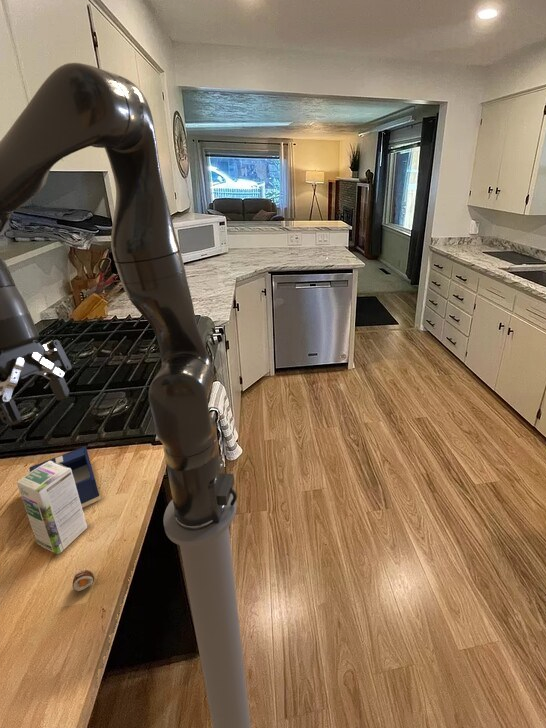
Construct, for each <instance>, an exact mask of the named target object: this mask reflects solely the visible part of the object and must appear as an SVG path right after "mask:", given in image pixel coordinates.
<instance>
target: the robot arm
mask: <svg viewBox="0 0 546 728" xmlns="http://www.w3.org/2000/svg"><path fill="white" fill-rule="evenodd" d="M152 114H153V113H152V111H151V108H150V105H149V102H148V100H147V98H146V97H145V95H144V93H143V92H142V90H141V89H140V88H139V87H138V86H137V85H136V84H135V83H134V82H132V81H131V80H129V78H126V77H124V76H122V75H119V74H116V73H113V72H110V71H108V70H105V69H102V68H99V67H96V66H94V65H90V64H87V63H81V62H68V63H65V64H62V65H60V66H59V67H57V68H56V69H55V70H53V71H52V72H51V73H50V74H49V75H48V77H46V79H44V81H43V82H42V84H41V85H40V87H39V88H38V89H37V91H36V92H35V94H34V95H33V96H32V98H31V99H30V101H29V102H28V104H26V106H25V108H24V109H23V110H22V112H21V113H20V115H19V116H18V117H17V119H16V120H15V121H14V122H13V124H12V125H11V127H10V128H9V129H8V131H7V132H6V133H5V135H3V137H2V138H1V140H0V234H1V233H2V232H3V230H4V229H5V227H6V225H7V223H8V222H9V221H10V218H11V216H12V214H13V213H14V212H16V211H17V210H18V209H20V208H22V207H23V206H24V205H25V204H27V203H28V202H30V201H31V200H32V199H34V198H35V197H36V196H37V195H39V193H40V192H41V191H42V190H43V188H44V187H45V185H46V183H47V181H48V178H49V174H50V172H51V169H52V168H53V167H54V166H55V165H56V164H57V163H58V162H60V161H61V160H62V159H64V158H66V157H67V156H70V155H72V154H74V153H76V152H78V151H81V150H84V149H86V148H90V147H92V148H99V149H104V150H105V153H106V157H107V159H108V162H109V165H110V168H111V173H112V175H113V176H112V177H113V179H114V185H115V207H114V213H113V219H112V220H113V221H112V225H111V235H110V247H111V248H110V249H111V253H112V257H113V261H114V264H115V268H116V270H117V273H118V276H119V279H120V283H121V285H122V287H123V291H124V292H125V294H126V296H127V298H128V299H129V301H130V302H131V303H132V305H133V306H134V308H136V310H137V311H138V312H139V313H140V314H141V315H142V317H143V318H144V319H145V320H146V321H147V323H148V324H149V325H150V327H151V329H152V331H153V333H154V336H155V338H156V342H157V346H158V350H159V354H160V355H159V356H160V361H161V367H160V368H159V370H158V372H157V373H156V375H155V376H154V378H153V379H152V380H151V382H150V384H149V387H148V394H147V396H148V397H147V401H148V406H149V410H150V411H149V412H150V416H151V419H152V424H153V428H154V431H155V435H156V438H158V440H159V442H161V444H162V446H163V447H162V448H163V452H164V459H165V464H166V470H167V475H168V482H169V487H170V492H171V493H170V494H171V498H172V499H173V504H174V511H175V518H176V522H177V523H178V525H179V526H180V527H182V528H184V529H186V530H200V529H203V528H206V527H208V526H210V525H211V524H214V523H219V522H220V519H221V516H222V513H223V511H224V508H225V506H227V504H228V501H229V498H230V494H232V495H233V499H232V501H231V503H230V504H231V505H232V506H233V505H234V503H235V501H236V502H237V500H238V494H237V492H236V491H235V489H234V485H235V475H234V473H226V469H225V462H224V460H221V459H220V451H219V442H218V441H219V440H218V430H217V425H216V423H217V422H216V420H215V419H214V417H212V416H211V415H210V408H209V395H210V392H211V390H212V386H213V383H214V378H215V372H214V367H213V363H212V360H211V357H210V354H209V353H208V350H207V348H206V345H205V342H204V339H203V337H202V335H201V331H200V329H199V325H198V322H197V319H196V314H195V309H194V303H193V299H192V295H191V290H190V286H189V282H188V278H187V272H186V268H185V264H184V260H183V255H182V251H181V249H180V244H179V241H178V238H177V235H176V231H175V226H174V223H173V219H172V218H173V217H172V214H171V210H170V205H169V202H168V198H167V194H166V190H165V186H164V182H163V175H162V169H161V163H160V157H159V150H158V144H157V136H156V130H155V125H154V119H153V115H152ZM39 338H40V334H39V330H38V329H37V326H36V324H35V321H34V320H33V317H32V315H31V312H30V311H29V307H28V305H27V304H26V301H25V298H23V295H22V294H21V292H20V291H19V289H18V287H17V285H16V283H15V280H14V278H13V276H12V274H11V271H10V270H9V267H8V265H7V263H6V261H5V259H4V258H3V257H2V256H1V255H0V420H1V422H2V423H3V424H6V425H8V426H15V425H18V424H19V423H22V422H23V418H22V415H21V414H20V411H19V409H18V406H17V405H16V403H15V400H14V399H12V396H13V393H14V390H15V388H16V387H17V385H18V382H19V381H21V380H24V379H27V378H28V377H29V376H32V375H38V376H42V377H44V378H46V379H47V380H49V381H48V385H49V387H50V389H51V391H52V393H53V396H54V398H55V400H56V401H63V400H66V399H68V398H69V397H70V389H69V387H68V384H67V382H66V379H65V377H64V376H65V374H66V373H68V371H71V370H72V368H73V366H72V364H71V362H70V360H69V358H68V356H67V354H66V351H65V350H64V348H63V346H62V343H61V342H60V340H59V339H53V340H50V341H47V342H44V343H43V344H42V343H41V342H40V341H39ZM45 355H47V358H48V359H47V358H45ZM172 499H171V500H172Z"/></svg>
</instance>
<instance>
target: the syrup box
mask: <svg viewBox="0 0 546 728" xmlns="http://www.w3.org/2000/svg"><path fill="white" fill-rule="evenodd" d="M16 485H17V488H18V490H19V493H20V496H21V500H22V503H23V505H24V509H25V511H26V515H27V518H28V520H29V524H30V526H31V529H32V532H33V535H34V538H35V540H36V544H37V545H39V546H40V547H42V548H44V549H45V550H48V551H50V552H52V553H53V554H56V555H60V554H61V553H62V552H64V550H65V549H67V548H68V547H69V546H70V545H71V544H72V543H73V542H74V541H75V540H76V539H77V538H78V537H79V536H80V535H81V534H82V533H83V532H84V531H86V530H87V528H88V524H87V521H86V517H85V514H84V510H83V508H82V506H81V502H80V499H79V495H78V492H77V488H76V485H75V481H74V477H73V474H72V470H71V468H67V467H65V466H63V465H61V464H58V463H55V462H53V461H48V462H46V463H44V464H43V465H41V466H39V467H38V468H36V469H34V470H33V471H32V472H30V471H29V472H28V473H27V474H26V475H25V476H23V477H22V478H20V479H19V480H18V481H17V482H16Z"/></svg>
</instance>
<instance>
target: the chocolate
mask: <svg viewBox="0 0 546 728" xmlns="http://www.w3.org/2000/svg"><path fill="white" fill-rule="evenodd" d="M71 574H72V575H74V577H73V580H72V585H71V586H72V588H73V589H74V590H75V591H76V592H80V591H84V590H85V589H87V588H89V587H90V586H91V585H92V584H93V583H94V582H95V577H96V576H95V575H94V573H93V572H92V571H91V570H88V569H87V568H83V569H80V570H77V571H76V572H75V571H73V572H72V573H71Z"/></svg>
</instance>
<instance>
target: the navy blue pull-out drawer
mask: <svg viewBox="0 0 546 728" xmlns="http://www.w3.org/2000/svg"><path fill="white" fill-rule="evenodd" d="M48 461H53V462H55V463H58V464H61V465H63V466H65V467H67V468H71V470H72V474H73V477H74V481H75V485H76V488H77V492H78V495H79V499H80V502H81V506H82V509H83V508H85V507H88V506H90V505H92V504H94V503H96V502H98V501H100V500H101V496H100V492H99V489H98V485H97V482H96V478H95V474H94V470H93V468H92V463H91V459H90V457H89V451H88V449H87V446H86V445H84V446H81V447H79V448H76V449H73V450H71V451H68V452H66V453H63V454H60V455H58V456H56V457H53V458H50V459H47V460H44V461H42V462H40V463H37V464H35V465H31V466H29V467H28V468H29V469H28V470H29V473H30V472H32V471H33V470H34V469H36V468H38V467H39V466H41V465H43V464H44V463H46V462H48Z"/></svg>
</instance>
